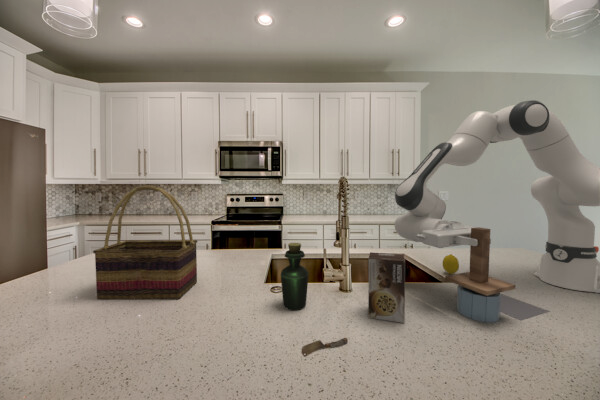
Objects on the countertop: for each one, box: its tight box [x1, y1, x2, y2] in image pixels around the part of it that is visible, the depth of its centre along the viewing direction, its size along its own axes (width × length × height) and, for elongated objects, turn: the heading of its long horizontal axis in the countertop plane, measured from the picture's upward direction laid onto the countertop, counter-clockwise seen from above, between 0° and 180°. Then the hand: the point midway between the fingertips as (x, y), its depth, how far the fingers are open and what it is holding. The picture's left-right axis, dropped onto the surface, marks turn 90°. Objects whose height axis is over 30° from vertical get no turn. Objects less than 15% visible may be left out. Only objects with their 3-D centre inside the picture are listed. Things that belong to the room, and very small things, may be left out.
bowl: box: [456, 284, 502, 323], centre depth 67 cm, size 9×9×7 cm
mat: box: [500, 293, 551, 321], centre depth 72 cm, size 13×13×1 cm
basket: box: [92, 184, 198, 300], centre depth 82 cm, size 26×15×35 cm, turn 90°
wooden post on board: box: [444, 226, 516, 296], centre depth 67 cm, size 11×11×15 cm
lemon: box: [442, 254, 460, 275], centre depth 98 cm, size 6×6×8 cm
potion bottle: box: [280, 242, 310, 311], centre depth 72 cm, size 8×8×18 cm
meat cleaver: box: [301, 337, 349, 358], centre depth 54 cm, size 12×1×5 cm
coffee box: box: [367, 252, 406, 324], centre depth 67 cm, size 9×6×16 cm
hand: (483, 242), depth 66 cm, fingers closed on wooden post on board, 3 cm apart
